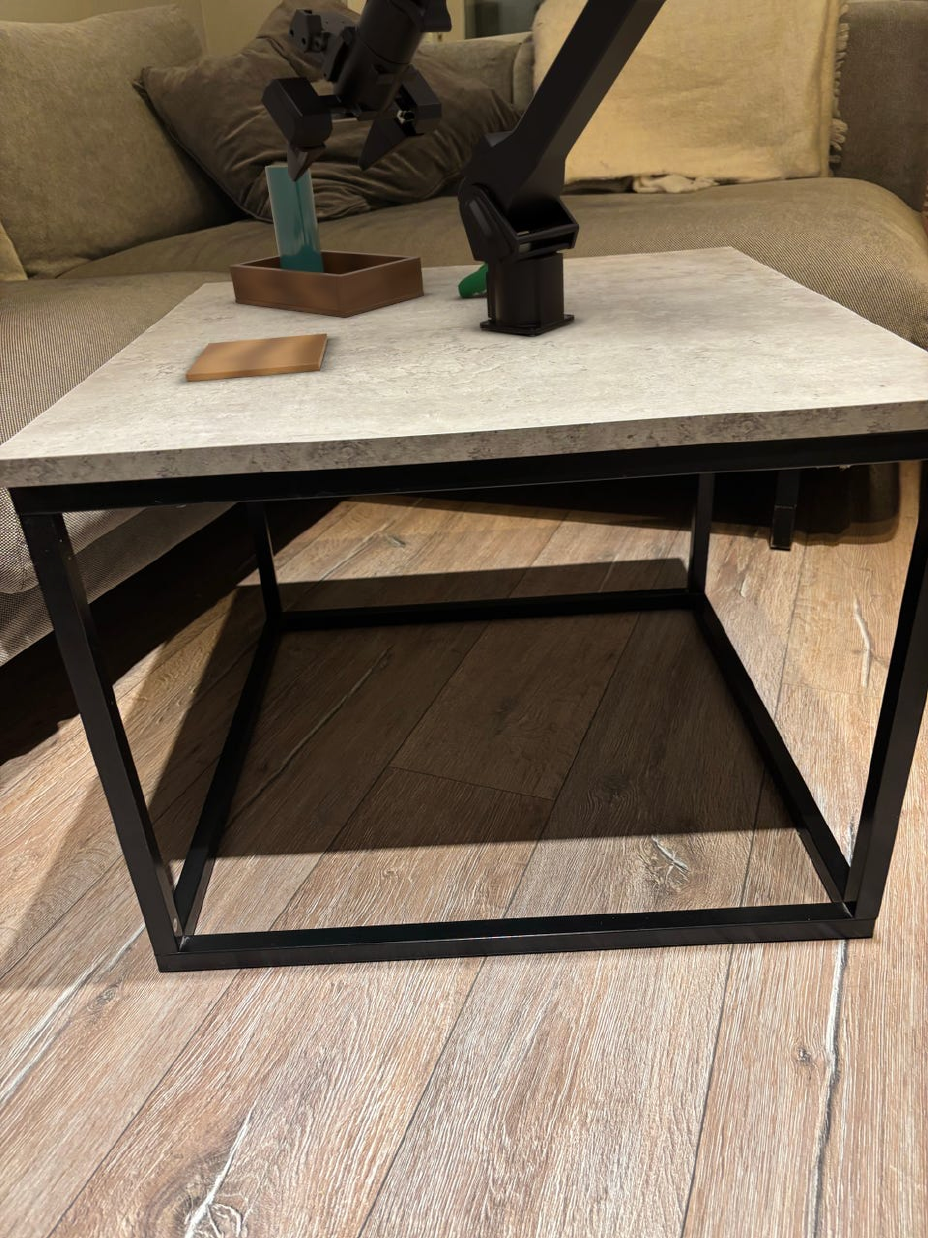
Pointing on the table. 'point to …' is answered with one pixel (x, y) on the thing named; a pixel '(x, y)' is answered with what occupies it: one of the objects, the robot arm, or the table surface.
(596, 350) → the table surface
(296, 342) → the mat
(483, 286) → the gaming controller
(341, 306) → the basket
